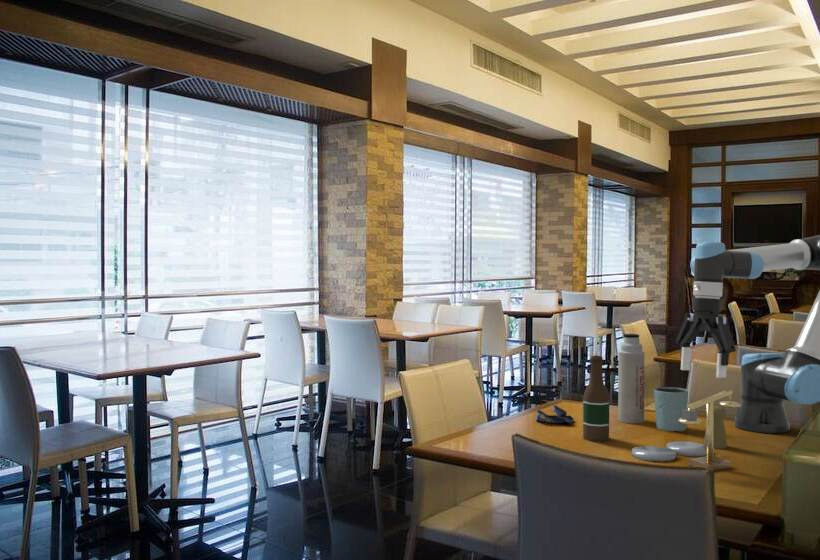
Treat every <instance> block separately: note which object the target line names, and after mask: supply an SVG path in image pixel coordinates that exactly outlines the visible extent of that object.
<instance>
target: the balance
mask: <svg viewBox="0 0 820 560" xmlns="http://www.w3.org/2000/svg"><path fill="white" fill-rule="evenodd" d="M732 394H733V390H732V389H731V388H730V389H725V390H722V391H720V392H717V393H715V394H712V395H710V396H707V397H705V398H702V399H700V400H696V401H694V402H692V403H689V404H687V409H683V410H682V418H679V422H680V423H683V424H686V425H692V426H693V425H694V426H695V425H696V426H697V425H700V424H701V419H698V410H695V409H697V408H700V407H702V406H705V405H706V408H707V416H706V426H707V427H706V428H705V432H706V456H699V457H694V458H689V459H688V465H687V466H690V465H692V466H691V467H693V468H696V467H705V468H711V469H713V471H718V470H726V469H730V468H732V461H730V460H728V459H724V458H722V457H719V456H715V455H714V448H713V423H714V406H715V405H714V404H715V403H714V402H715V401H717V400H721V399H722V398H726V397H729V399H728V400H723V401H719V405H718V406H720V407H723V408H724V407H725V408H739V407H741V402H738V401H732Z"/></svg>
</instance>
